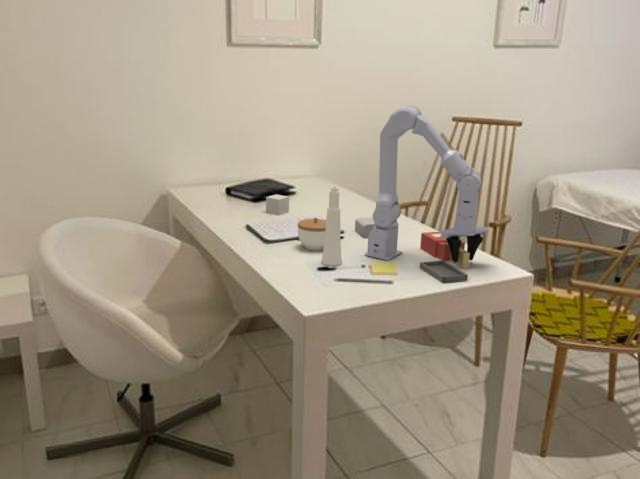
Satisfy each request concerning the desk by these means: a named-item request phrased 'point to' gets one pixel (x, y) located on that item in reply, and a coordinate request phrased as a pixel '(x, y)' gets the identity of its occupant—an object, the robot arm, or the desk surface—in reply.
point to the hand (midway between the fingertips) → (462, 260)
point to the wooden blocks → (462, 258)
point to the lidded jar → (312, 233)
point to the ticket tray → (443, 271)
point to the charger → (364, 226)
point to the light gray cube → (277, 204)
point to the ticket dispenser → (436, 245)
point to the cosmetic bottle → (332, 231)
